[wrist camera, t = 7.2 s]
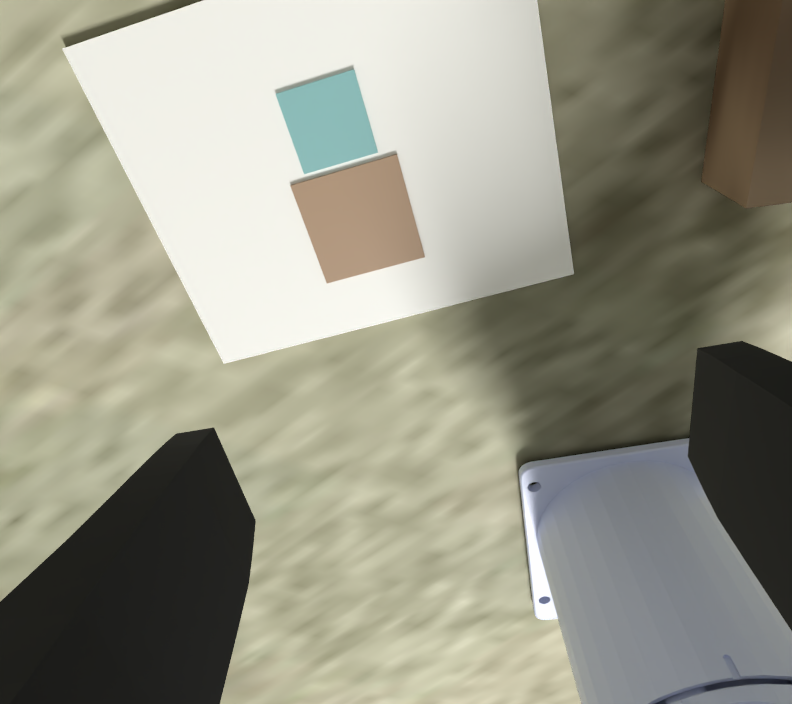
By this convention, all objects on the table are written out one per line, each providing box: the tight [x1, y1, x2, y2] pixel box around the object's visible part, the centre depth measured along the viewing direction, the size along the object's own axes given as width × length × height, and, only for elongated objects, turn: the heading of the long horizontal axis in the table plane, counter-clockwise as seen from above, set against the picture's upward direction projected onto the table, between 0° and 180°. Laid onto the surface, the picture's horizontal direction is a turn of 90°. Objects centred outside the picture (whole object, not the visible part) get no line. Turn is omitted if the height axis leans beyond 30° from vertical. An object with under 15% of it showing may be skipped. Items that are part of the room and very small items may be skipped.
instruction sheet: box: [63, 0, 574, 364], centre depth 17 cm, size 10×12×1 cm
